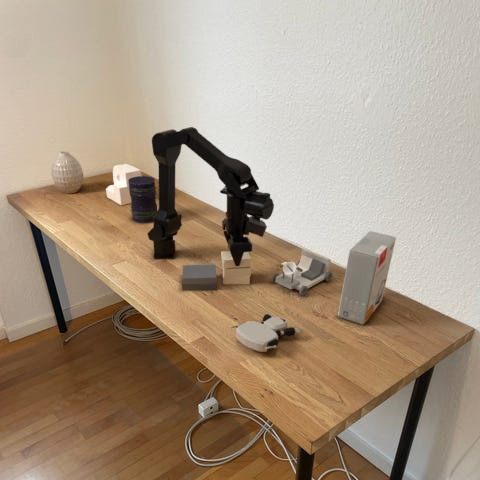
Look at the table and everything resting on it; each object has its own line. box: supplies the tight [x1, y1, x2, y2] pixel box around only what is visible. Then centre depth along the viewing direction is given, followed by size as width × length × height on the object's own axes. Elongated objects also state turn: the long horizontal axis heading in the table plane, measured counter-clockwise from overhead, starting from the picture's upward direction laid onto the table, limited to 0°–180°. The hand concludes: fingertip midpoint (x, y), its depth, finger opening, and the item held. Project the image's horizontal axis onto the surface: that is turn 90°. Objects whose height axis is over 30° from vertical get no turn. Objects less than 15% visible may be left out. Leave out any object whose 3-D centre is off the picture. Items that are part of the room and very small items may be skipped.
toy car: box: [270, 248, 333, 297], centre depth 142 cm, size 18×10×12 cm
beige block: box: [221, 263, 252, 285], centre depth 145 cm, size 8×6×5 cm
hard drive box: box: [337, 230, 397, 326], centre depth 128 cm, size 16×8×20 cm, turn 148°
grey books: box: [181, 264, 218, 291], centre depth 143 cm, size 10×9×4 cm
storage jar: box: [128, 175, 158, 224], centre depth 181 cm, size 10×10×15 cm
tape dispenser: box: [105, 163, 142, 206], centre depth 201 cm, size 16×10×13 cm, turn 41°
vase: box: [50, 150, 84, 194], centre depth 206 cm, size 13×13×17 cm
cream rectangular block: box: [220, 250, 252, 268], centre depth 142 cm, size 8×6×3 cm
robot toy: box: [228, 313, 301, 353], centre depth 119 cm, size 12×4×15 cm
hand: (235, 261), depth 143 cm, fingers closed on cream rectangular block, 6 cm apart
